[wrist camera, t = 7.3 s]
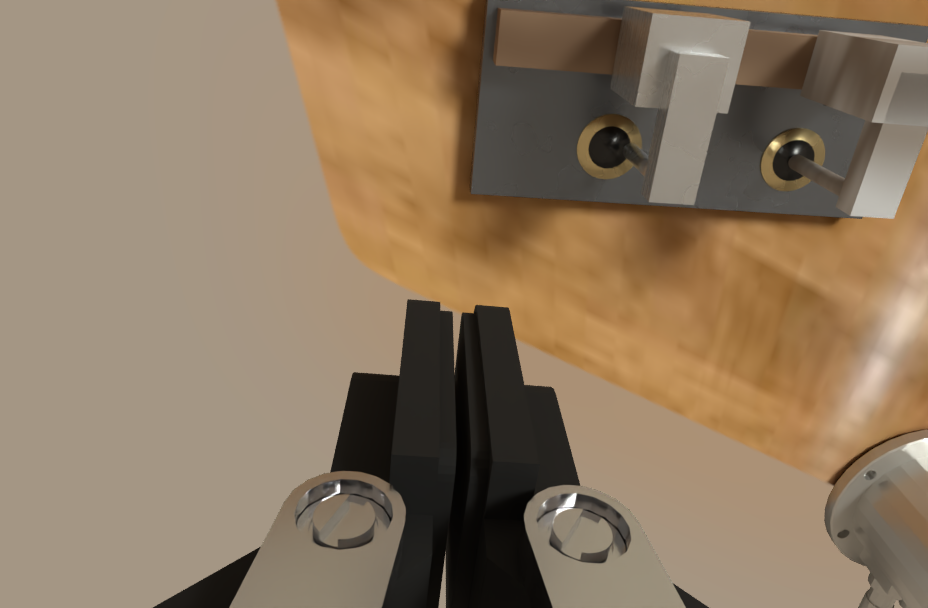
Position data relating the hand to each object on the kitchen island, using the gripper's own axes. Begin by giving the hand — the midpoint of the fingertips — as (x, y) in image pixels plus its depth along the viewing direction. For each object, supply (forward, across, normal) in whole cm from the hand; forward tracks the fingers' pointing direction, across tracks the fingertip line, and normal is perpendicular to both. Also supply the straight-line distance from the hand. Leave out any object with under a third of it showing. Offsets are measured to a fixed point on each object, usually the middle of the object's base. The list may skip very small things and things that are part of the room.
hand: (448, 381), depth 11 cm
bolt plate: (+27, -13, -1) cm, 30 cm away
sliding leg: (+25, -10, -2) cm, 27 cm away
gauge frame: (+25, -13, -2) cm, 29 cm away
